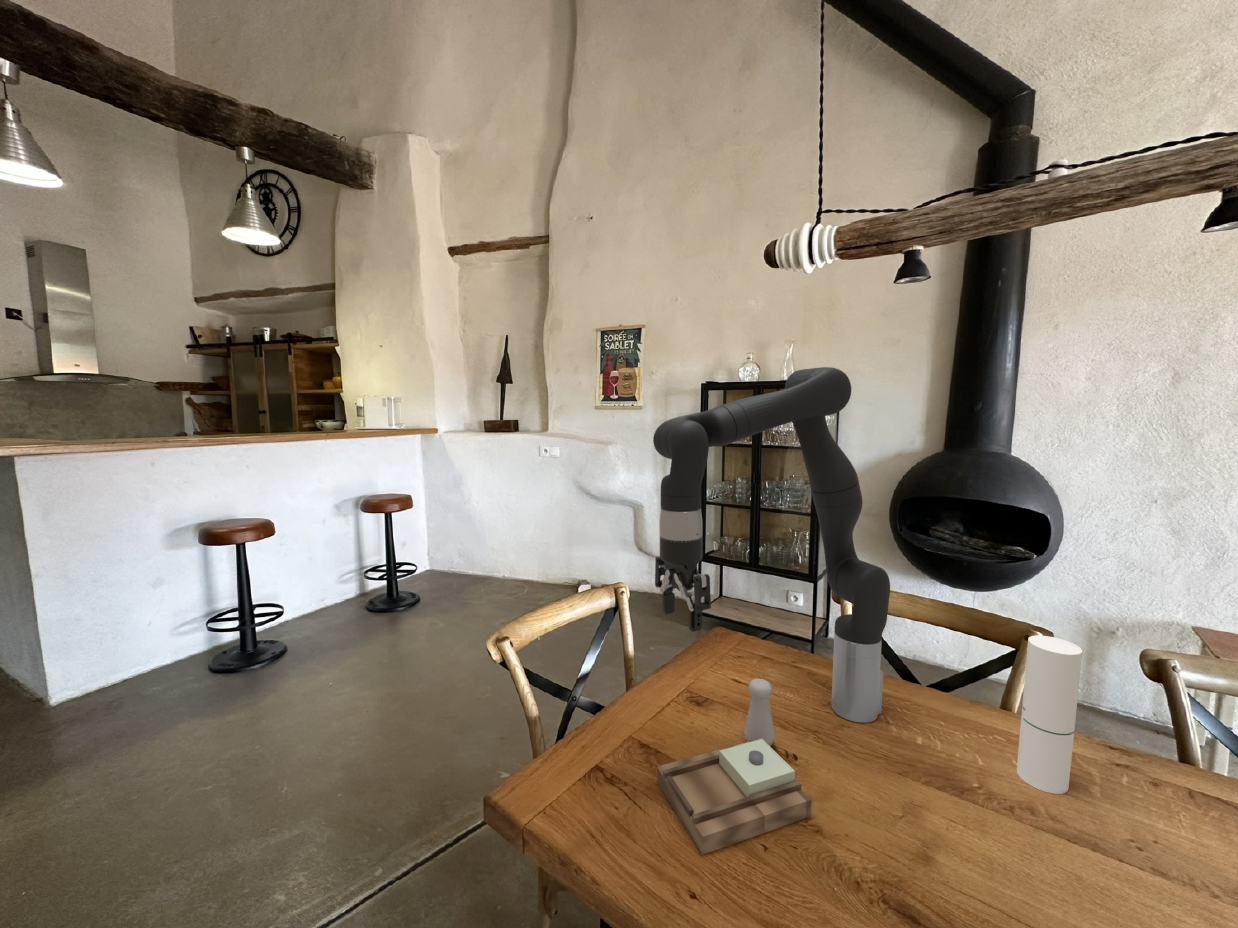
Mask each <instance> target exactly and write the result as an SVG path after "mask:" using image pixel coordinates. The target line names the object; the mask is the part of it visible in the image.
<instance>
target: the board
mask: <svg viewBox="0 0 1238 928" xmlns="http://www.w3.org/2000/svg"><path fill="white" fill-rule="evenodd" d="M752 741H753V740H751V741H748V742H747V741H745V742H741V743H738V744H734V745H733V744H732V745H730V746H727V747H723V748H719V749H716V750H712V751H709V752H705V753H702V754H698V755H694V756H690V757H687V758H683V759H680V760H677V761H672V762H669V763H665V764H662V765H658V766H656V784H657V785H658V786H659V788H660V790H661V792H662V793H663V795H664V796H665V798H666V799H667V801H668V803H669V804H670V806H671V808H673V810H674V812H675V813H676V815H677V817H678V819H679V820H680V822H681V823H682V826H684V828H685V831H687V833H688V835H689V837H690V838H691V839H692V841H693V843H694V844H695V846H696V847H697V849H698V850H699V852H700V854H701V855H702V856H703V855H706V854H707V855H708V854H710V853H712V852H715V851H717V850H718V851H719V850H721V849H724V848H726V847H729V846H732V845H735V844H737V843H741V842H743V841H747V840H749V839H751V838H754V837H757V836H760V835H763V834H767V833H768V832H772V831H774V830H777V829H780V828H783V827H786V826H788V825H791V824H795V823H797V822H799V821H803V820H805V819H808V818H811V816H812V798H810V797H809V795H807V793H806V792H805V791H803V790H802V785H803V784H802V782H800V780H796V781H795V782H792V783H789V784H786V785H783V786H780V787H777V788H774V789H771V790H767V791H764V792H761V793H758V794H755V795H752V796H749V797H746V796H745V794H744V793H743V792H742V791H741V790H740V788H739V787H738V786H737V785H736V783H735V782H734V781H733V780H732V779H731V777H730V776H729V775H728V774H727V773H726V771H725V770H724V769H723V768H722V767H721V765H720V764H719V751H720V750H724V749H727V748H731V747H734V746H738V745H741V744H745V743H749V742H752Z"/></svg>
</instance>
